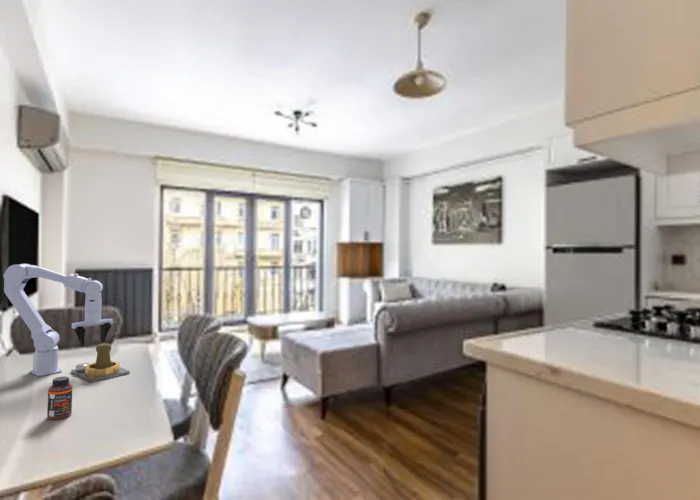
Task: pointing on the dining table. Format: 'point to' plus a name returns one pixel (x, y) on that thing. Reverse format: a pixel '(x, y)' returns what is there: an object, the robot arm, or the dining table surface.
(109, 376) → the flanged metal plate
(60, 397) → the supplement bottle
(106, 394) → the dining table surface
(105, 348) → the cork
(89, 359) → the dining table surface
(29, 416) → the dining table surface
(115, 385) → the dining table surface
